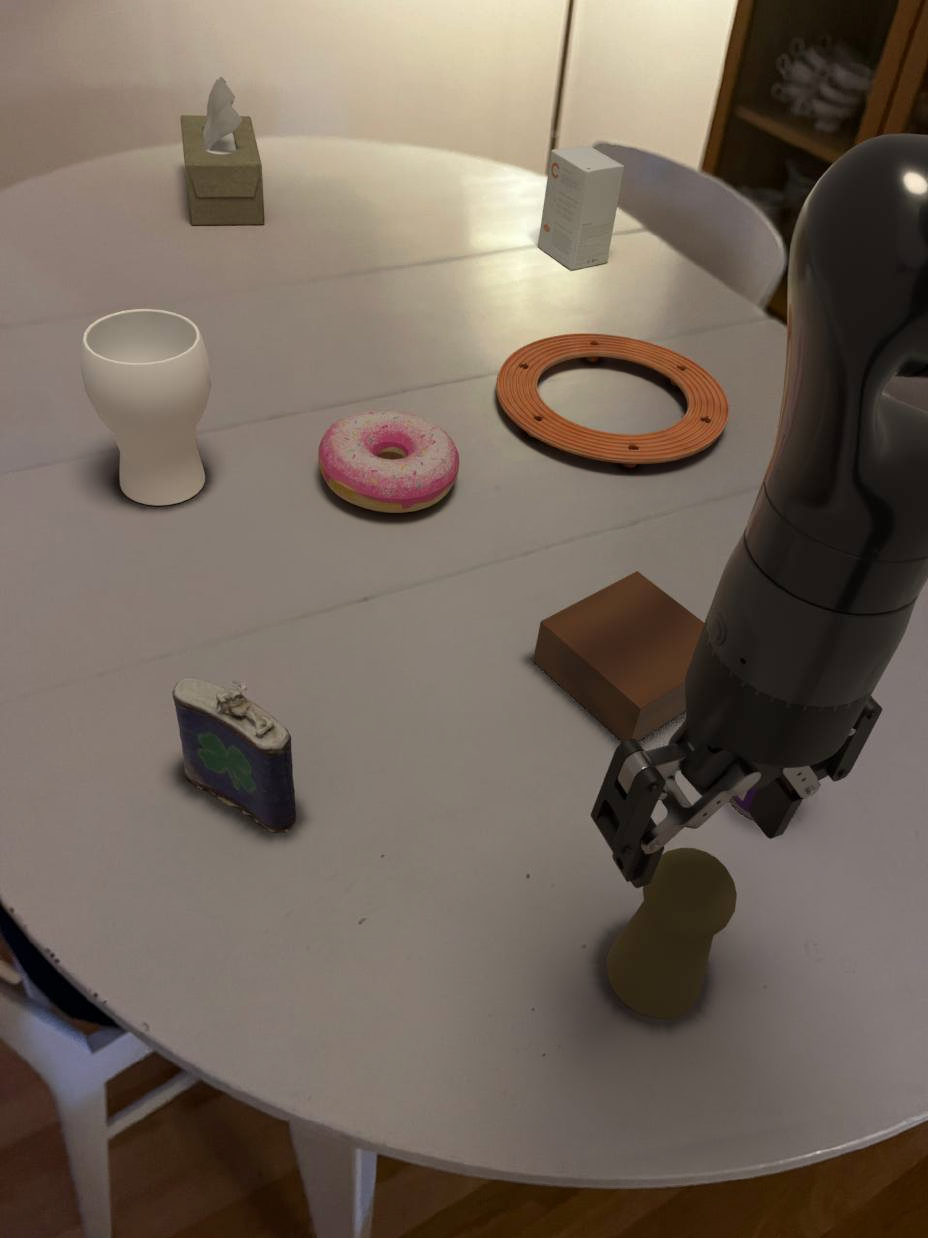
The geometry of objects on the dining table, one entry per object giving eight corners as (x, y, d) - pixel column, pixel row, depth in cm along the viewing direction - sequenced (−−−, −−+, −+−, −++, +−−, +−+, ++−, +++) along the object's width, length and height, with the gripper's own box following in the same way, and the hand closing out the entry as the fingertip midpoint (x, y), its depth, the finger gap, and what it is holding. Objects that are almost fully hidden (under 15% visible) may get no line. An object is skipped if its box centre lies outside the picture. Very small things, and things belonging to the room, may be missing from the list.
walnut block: (722, 687, 83) (737, 648, 80) (628, 748, 77) (640, 708, 74) (626, 609, 88) (637, 570, 85) (532, 660, 83) (540, 621, 80)
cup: (153, 436, 101) (132, 294, 90) (243, 471, 98) (232, 328, 88) (79, 491, 94) (46, 343, 83) (173, 530, 91) (152, 382, 80)
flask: (177, 776, 72) (160, 671, 64) (206, 750, 74) (192, 645, 66) (281, 841, 69) (275, 738, 61) (308, 811, 71) (305, 709, 63)
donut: (461, 527, 95) (466, 483, 91) (316, 523, 93) (315, 479, 90) (452, 444, 104) (456, 402, 101) (321, 440, 103) (320, 397, 99)
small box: (607, 263, 139) (626, 165, 130) (570, 271, 136) (586, 171, 127) (572, 239, 144) (588, 143, 135) (536, 246, 141) (549, 148, 132)
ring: (526, 483, 101) (529, 462, 99) (472, 353, 118) (474, 333, 116) (761, 470, 106) (768, 451, 104) (676, 347, 123) (681, 329, 122)
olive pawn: (715, 1012, 62) (767, 920, 55) (621, 1024, 61) (661, 931, 54) (684, 923, 67) (729, 826, 59) (595, 933, 66) (629, 835, 58)
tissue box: (264, 226, 138) (258, 101, 127) (190, 226, 136) (178, 99, 125) (253, 172, 151) (247, 55, 140) (185, 172, 149) (173, 53, 138)
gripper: (706, 745, 38) (621, 954, 50) (983, 656, 43) (848, 864, 55) (608, 613, 43) (550, 831, 54) (867, 546, 48) (765, 759, 59)
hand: (699, 847), depth 55 cm, fingers open, 8 cm apart
